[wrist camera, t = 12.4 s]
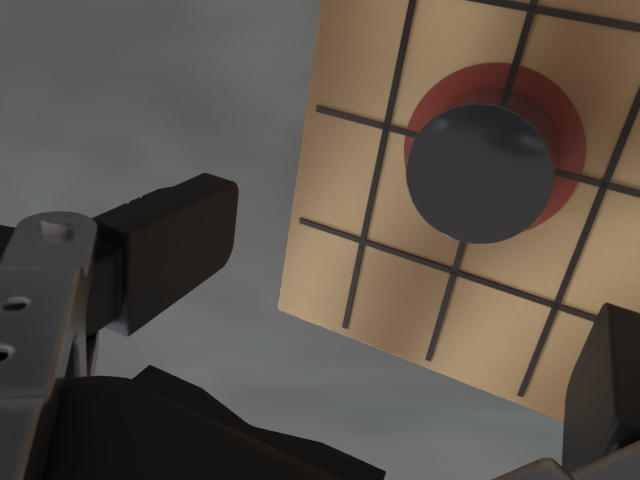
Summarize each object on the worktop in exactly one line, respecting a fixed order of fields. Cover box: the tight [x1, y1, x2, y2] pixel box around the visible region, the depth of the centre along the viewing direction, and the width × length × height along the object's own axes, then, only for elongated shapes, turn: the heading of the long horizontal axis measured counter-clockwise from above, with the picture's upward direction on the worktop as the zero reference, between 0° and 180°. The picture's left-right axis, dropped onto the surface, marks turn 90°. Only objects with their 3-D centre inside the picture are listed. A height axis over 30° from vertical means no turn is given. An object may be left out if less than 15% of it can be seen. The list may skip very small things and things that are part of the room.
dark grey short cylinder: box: [406, 89, 560, 244], centre depth 19 cm, size 5×5×3 cm
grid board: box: [278, 0, 640, 422], centre depth 21 cm, size 15×20×1 cm
